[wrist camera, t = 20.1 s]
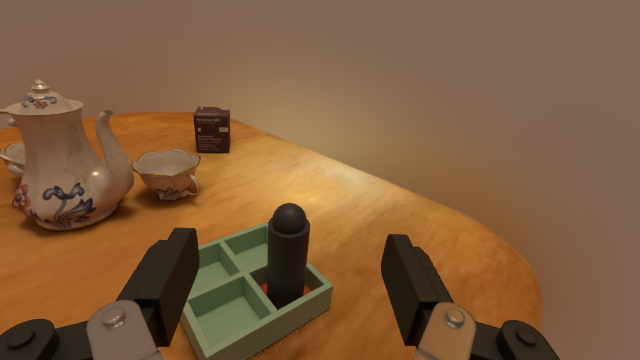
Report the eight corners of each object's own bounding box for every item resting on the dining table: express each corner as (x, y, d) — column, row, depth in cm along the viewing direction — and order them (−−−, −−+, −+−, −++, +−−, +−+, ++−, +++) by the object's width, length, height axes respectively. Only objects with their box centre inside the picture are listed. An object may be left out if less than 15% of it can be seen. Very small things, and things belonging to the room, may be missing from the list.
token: (310, 300, 30) (320, 209, 25) (279, 318, 28) (283, 223, 23) (290, 277, 32) (295, 191, 27) (259, 292, 30) (260, 201, 25)
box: (196, 153, 59) (192, 115, 55) (200, 141, 64) (197, 106, 61) (229, 153, 60) (227, 116, 57) (231, 142, 65) (229, 107, 62)
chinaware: (216, 188, 51) (213, 83, 45) (176, 246, 35) (161, 96, 29) (37, 176, 49) (8, 64, 43) (-89, 231, 34) (-162, 68, 28)
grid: (329, 308, 30) (333, 285, 28) (209, 383, 23) (205, 357, 22) (267, 241, 38) (267, 221, 36) (163, 282, 31) (158, 259, 29)
